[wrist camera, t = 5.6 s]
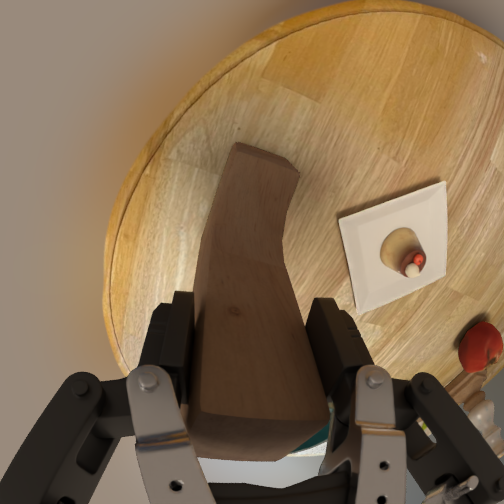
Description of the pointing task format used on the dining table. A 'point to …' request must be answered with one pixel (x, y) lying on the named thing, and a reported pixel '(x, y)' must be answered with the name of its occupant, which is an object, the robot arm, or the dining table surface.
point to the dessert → (396, 246)
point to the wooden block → (250, 323)
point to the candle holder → (477, 406)
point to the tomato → (480, 347)
